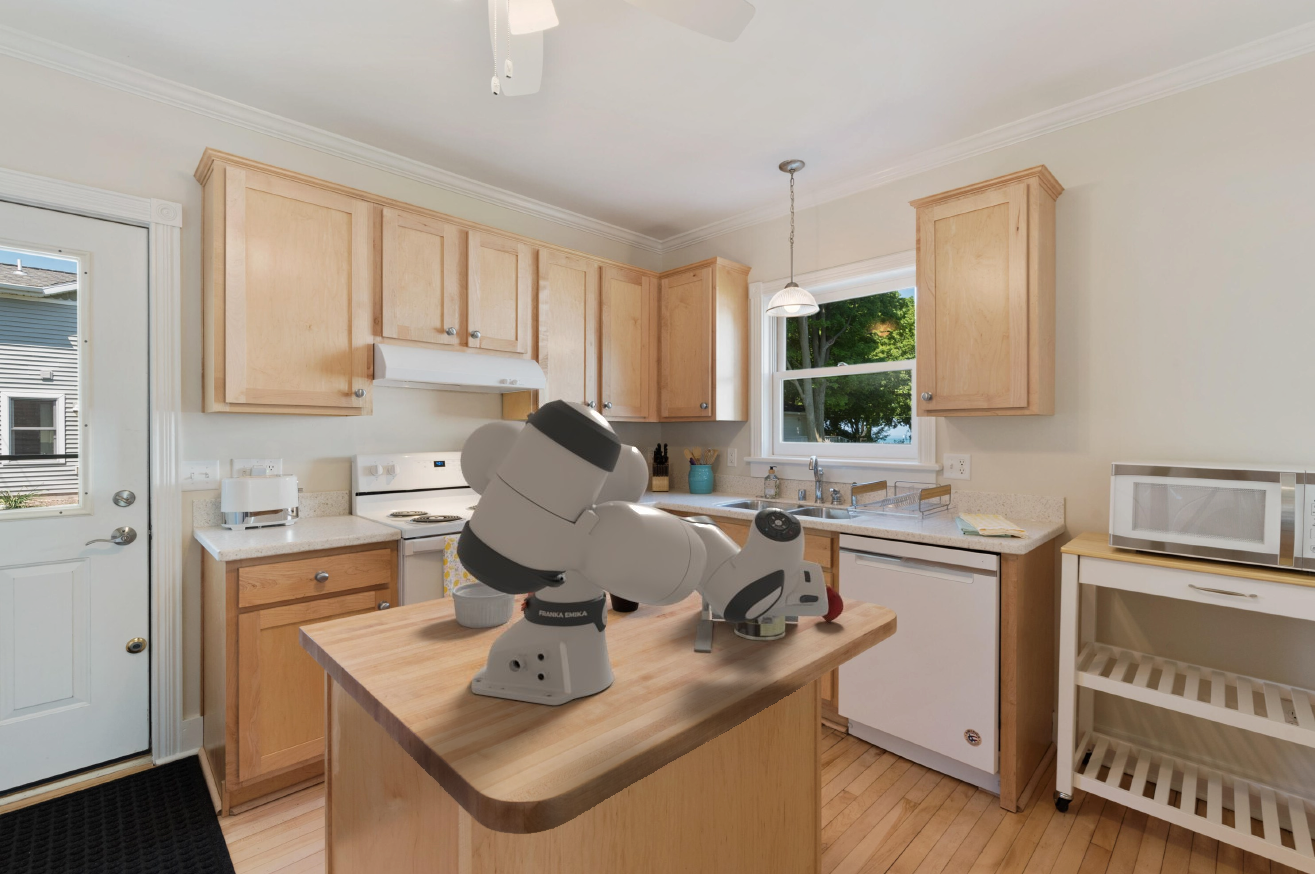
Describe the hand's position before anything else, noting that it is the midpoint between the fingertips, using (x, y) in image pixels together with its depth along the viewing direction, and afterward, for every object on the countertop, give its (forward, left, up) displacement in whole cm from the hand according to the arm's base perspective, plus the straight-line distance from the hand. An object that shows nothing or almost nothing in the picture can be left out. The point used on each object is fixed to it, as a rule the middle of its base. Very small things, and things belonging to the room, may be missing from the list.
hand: (766, 620), depth 113 cm
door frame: (-12, +13, -6) cm, 18 cm away
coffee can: (0, +11, -6) cm, 13 cm away
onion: (+14, +20, -6) cm, 25 cm away
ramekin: (-59, +13, -6) cm, 60 cm away
